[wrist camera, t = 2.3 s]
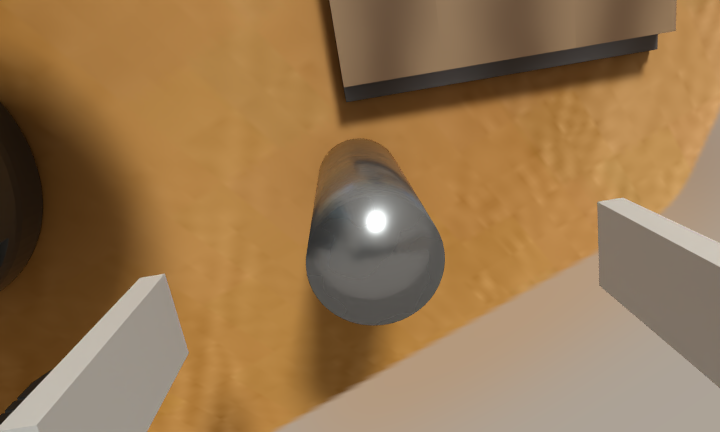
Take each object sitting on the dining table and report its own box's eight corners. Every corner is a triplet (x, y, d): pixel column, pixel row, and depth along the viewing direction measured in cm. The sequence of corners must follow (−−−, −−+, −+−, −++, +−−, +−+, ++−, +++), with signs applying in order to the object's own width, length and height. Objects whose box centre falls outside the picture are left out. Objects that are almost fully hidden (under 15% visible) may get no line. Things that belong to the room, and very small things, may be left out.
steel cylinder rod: (326, 223, 28) (320, 335, 16) (311, 146, 27) (293, 209, 15) (404, 210, 28) (451, 313, 16) (393, 132, 27) (436, 184, 15)
